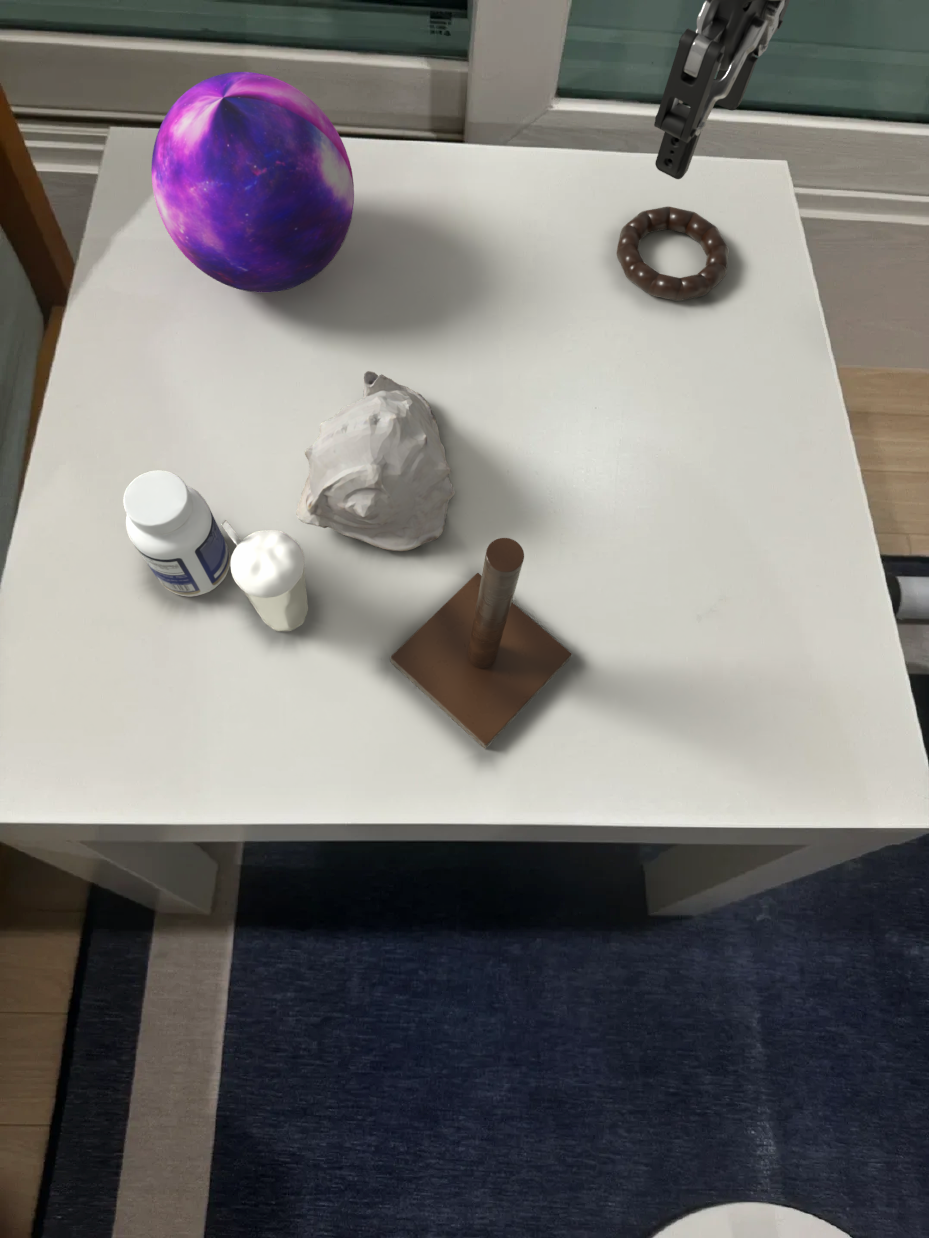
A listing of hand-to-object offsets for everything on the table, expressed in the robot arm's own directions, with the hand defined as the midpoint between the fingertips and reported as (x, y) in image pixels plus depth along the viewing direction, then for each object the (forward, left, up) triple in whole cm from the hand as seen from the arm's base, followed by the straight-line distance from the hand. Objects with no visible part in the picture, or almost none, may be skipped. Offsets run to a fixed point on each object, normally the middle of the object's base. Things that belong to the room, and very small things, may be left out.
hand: (697, 136), depth 61 cm
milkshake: (+43, 0, -14) cm, 45 cm away
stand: (+36, +13, -14) cm, 41 cm away
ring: (-3, 0, -13) cm, 13 cm away
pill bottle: (+45, -7, -14) cm, 48 cm away
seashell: (+31, -3, -14) cm, 34 cm away
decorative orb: (+22, -24, -14) cm, 35 cm away
